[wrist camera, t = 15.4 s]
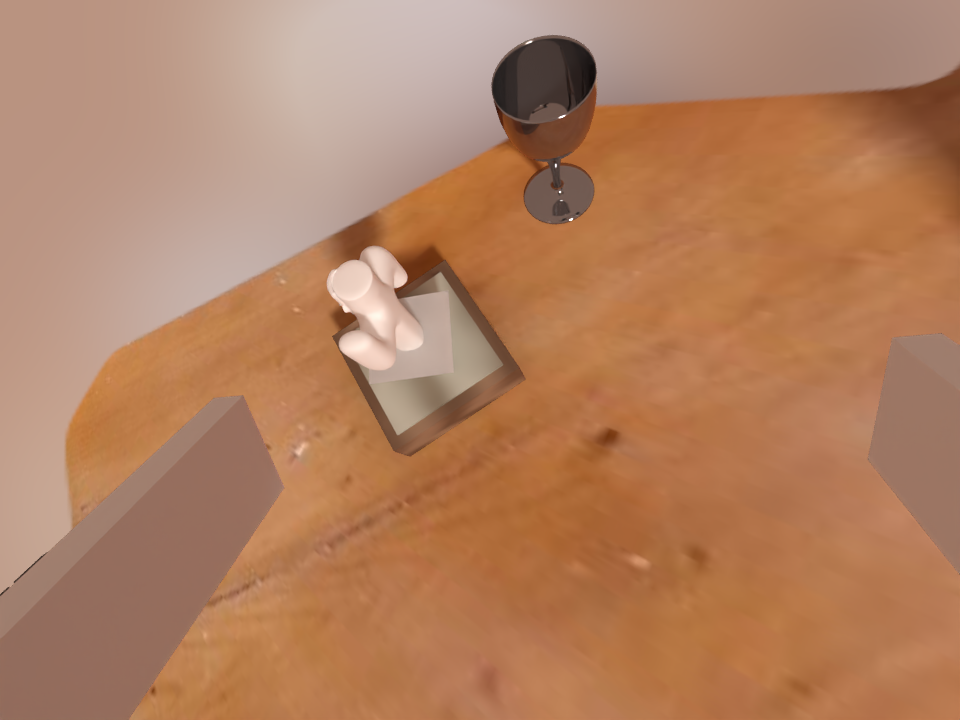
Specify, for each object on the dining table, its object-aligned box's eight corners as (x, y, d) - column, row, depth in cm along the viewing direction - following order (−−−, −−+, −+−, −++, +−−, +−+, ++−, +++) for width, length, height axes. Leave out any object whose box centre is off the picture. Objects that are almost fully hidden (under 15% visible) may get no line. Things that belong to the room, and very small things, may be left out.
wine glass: (613, 201, 52) (617, 83, 38) (543, 241, 52) (521, 139, 38) (573, 146, 54) (562, 18, 40) (506, 185, 55) (473, 71, 41)
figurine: (458, 295, 48) (398, 202, 34) (466, 396, 45) (403, 339, 31) (384, 308, 49) (296, 224, 35) (386, 406, 46) (292, 357, 32)
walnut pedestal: (456, 277, 53) (444, 258, 49) (525, 379, 48) (518, 366, 44) (351, 349, 53) (330, 335, 49) (410, 456, 49) (392, 451, 45)
